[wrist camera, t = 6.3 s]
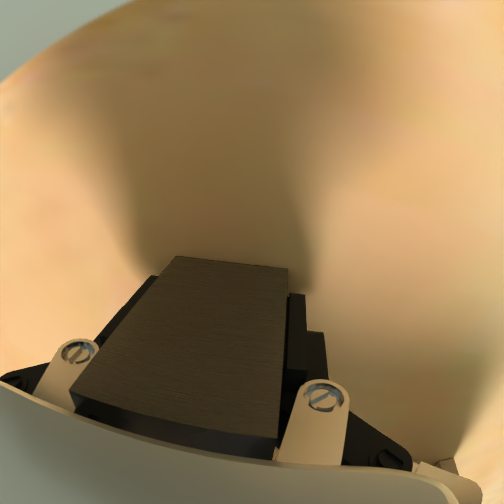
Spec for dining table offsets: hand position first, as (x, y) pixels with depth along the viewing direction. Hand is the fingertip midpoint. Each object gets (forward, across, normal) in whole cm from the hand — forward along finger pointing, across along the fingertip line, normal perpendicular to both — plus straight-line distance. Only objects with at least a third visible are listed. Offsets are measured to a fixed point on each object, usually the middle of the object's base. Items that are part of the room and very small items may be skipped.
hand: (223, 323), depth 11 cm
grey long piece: (+1, -1, +6) cm, 6 cm away
